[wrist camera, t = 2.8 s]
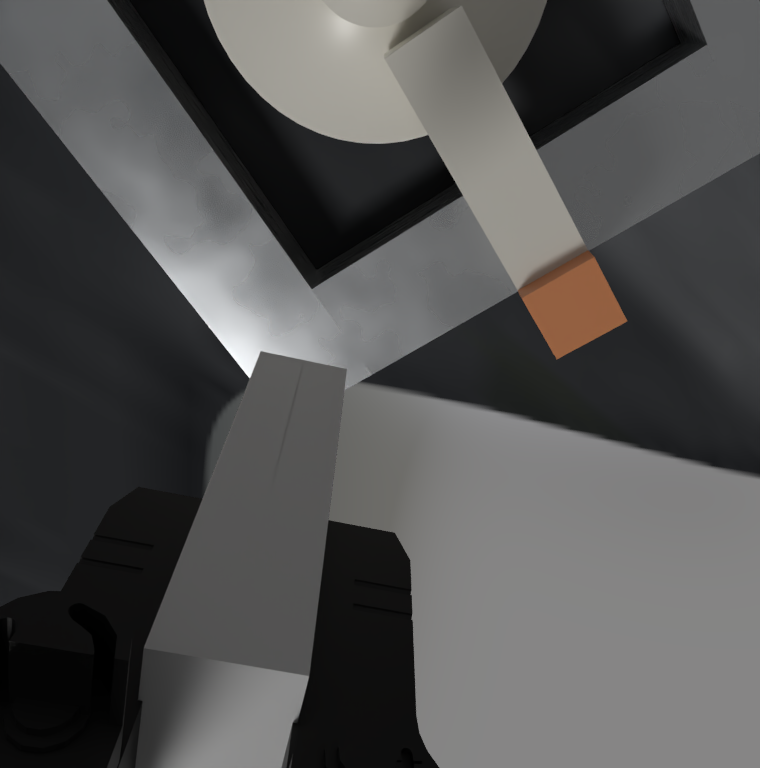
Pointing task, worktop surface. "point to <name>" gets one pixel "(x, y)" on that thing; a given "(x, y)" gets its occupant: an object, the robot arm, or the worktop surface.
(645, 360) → the worktop surface
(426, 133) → the dial
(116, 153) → the housing
